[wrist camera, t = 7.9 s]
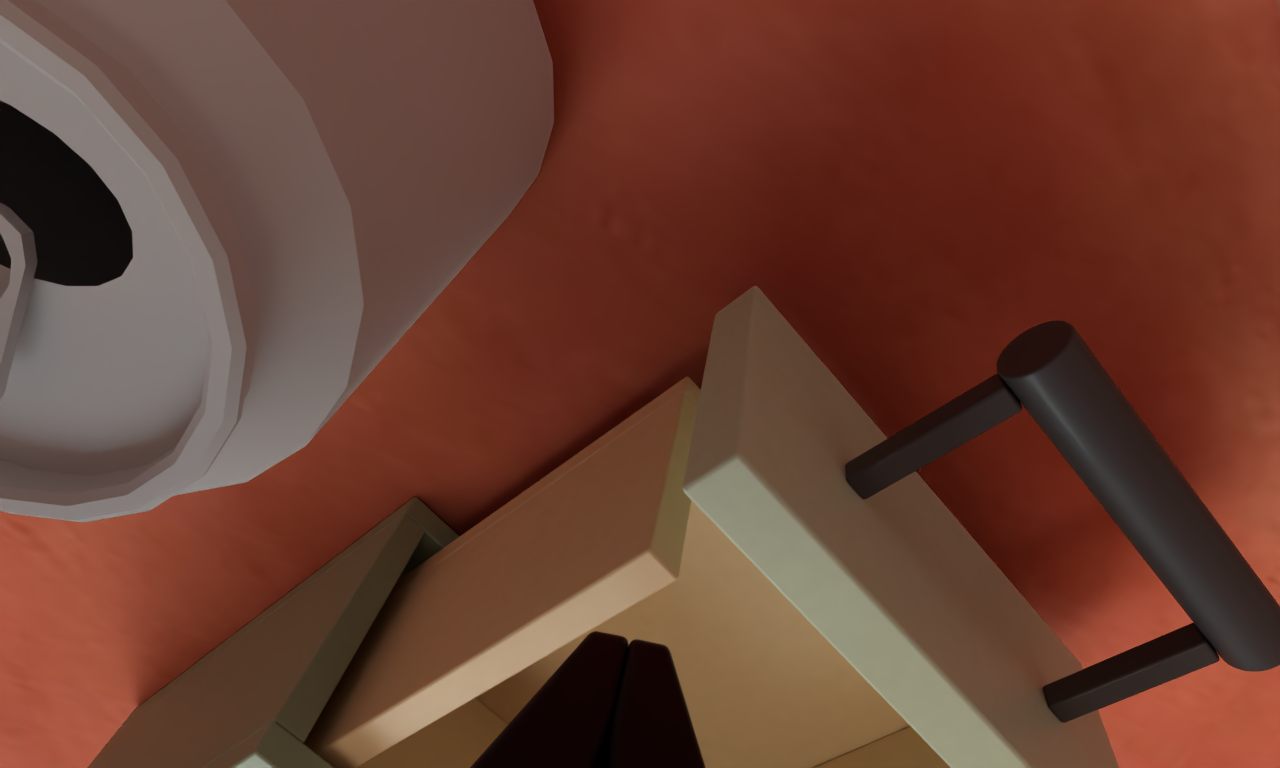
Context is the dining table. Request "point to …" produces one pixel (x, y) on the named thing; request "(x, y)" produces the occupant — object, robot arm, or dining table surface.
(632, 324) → the dining table surface
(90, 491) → the can
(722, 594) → the drawer
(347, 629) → the cabinet
